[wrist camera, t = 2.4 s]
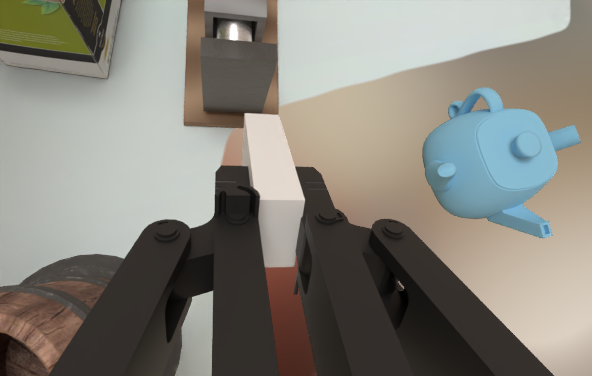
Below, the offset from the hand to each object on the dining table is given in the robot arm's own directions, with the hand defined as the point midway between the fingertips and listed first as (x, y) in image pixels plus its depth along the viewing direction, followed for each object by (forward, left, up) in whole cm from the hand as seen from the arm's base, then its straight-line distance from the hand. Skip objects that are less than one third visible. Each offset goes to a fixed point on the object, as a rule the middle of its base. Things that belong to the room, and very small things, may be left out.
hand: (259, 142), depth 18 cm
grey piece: (-17, +9, -23) cm, 30 cm away
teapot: (+9, +26, -25) cm, 37 cm away
